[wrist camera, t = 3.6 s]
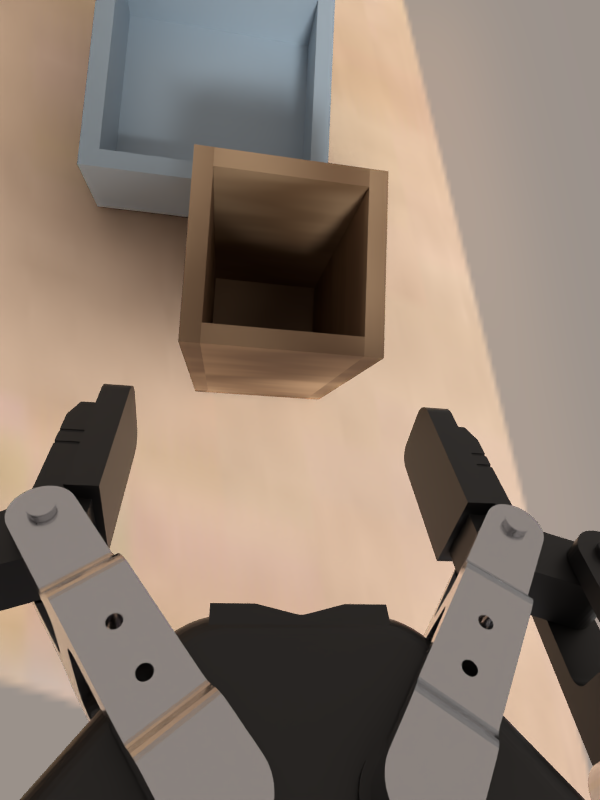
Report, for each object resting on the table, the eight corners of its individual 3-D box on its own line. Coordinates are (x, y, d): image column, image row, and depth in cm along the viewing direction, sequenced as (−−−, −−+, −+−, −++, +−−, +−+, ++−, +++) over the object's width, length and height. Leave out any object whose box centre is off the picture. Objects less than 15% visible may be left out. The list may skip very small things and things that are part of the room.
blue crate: (97, 206, 24) (77, 163, 21) (118, 12, 25) (102, -58, 22) (312, 231, 26) (326, 196, 22) (320, 47, 27) (335, -13, 24)
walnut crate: (195, 391, 24) (178, 341, 14) (204, 270, 25) (194, 144, 15) (318, 399, 25) (383, 358, 15) (323, 283, 25) (388, 171, 16)
